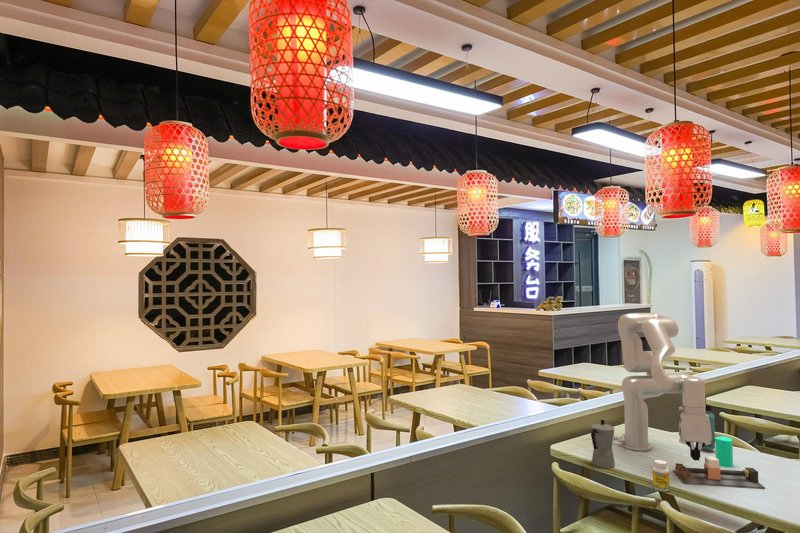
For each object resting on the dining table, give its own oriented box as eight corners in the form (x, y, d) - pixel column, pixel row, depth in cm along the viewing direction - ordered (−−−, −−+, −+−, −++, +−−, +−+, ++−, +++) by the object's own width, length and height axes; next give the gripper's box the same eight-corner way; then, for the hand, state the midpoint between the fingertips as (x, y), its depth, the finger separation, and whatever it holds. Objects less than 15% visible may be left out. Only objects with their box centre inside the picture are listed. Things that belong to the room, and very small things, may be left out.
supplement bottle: (668, 486, 185) (668, 460, 185) (670, 492, 180) (670, 465, 180) (652, 484, 187) (651, 458, 187) (653, 490, 182) (653, 463, 182)
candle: (730, 462, 209) (730, 433, 210) (734, 467, 204) (734, 437, 204) (713, 461, 211) (713, 431, 212) (717, 466, 206) (717, 436, 206)
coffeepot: (600, 457, 216) (599, 414, 216) (622, 463, 209) (621, 419, 209) (581, 466, 206) (580, 421, 206) (603, 472, 199) (603, 426, 199)
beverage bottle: (710, 448, 227) (710, 403, 228) (718, 453, 221) (717, 406, 221) (695, 447, 228) (694, 402, 228) (702, 452, 221) (702, 406, 222)
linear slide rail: (683, 483, 188) (683, 471, 188) (672, 471, 200) (672, 459, 200) (764, 489, 183) (764, 476, 183) (748, 476, 195) (748, 464, 195)
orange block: (708, 479, 190) (708, 460, 190) (704, 474, 194) (703, 456, 194) (720, 479, 189) (720, 460, 190) (715, 475, 193) (715, 456, 194)
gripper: (676, 411, 191) (677, 461, 190) (720, 413, 188) (721, 464, 188) (669, 407, 198) (670, 455, 198) (711, 408, 196) (712, 457, 195)
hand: (695, 459), depth 193 cm, fingers closed
